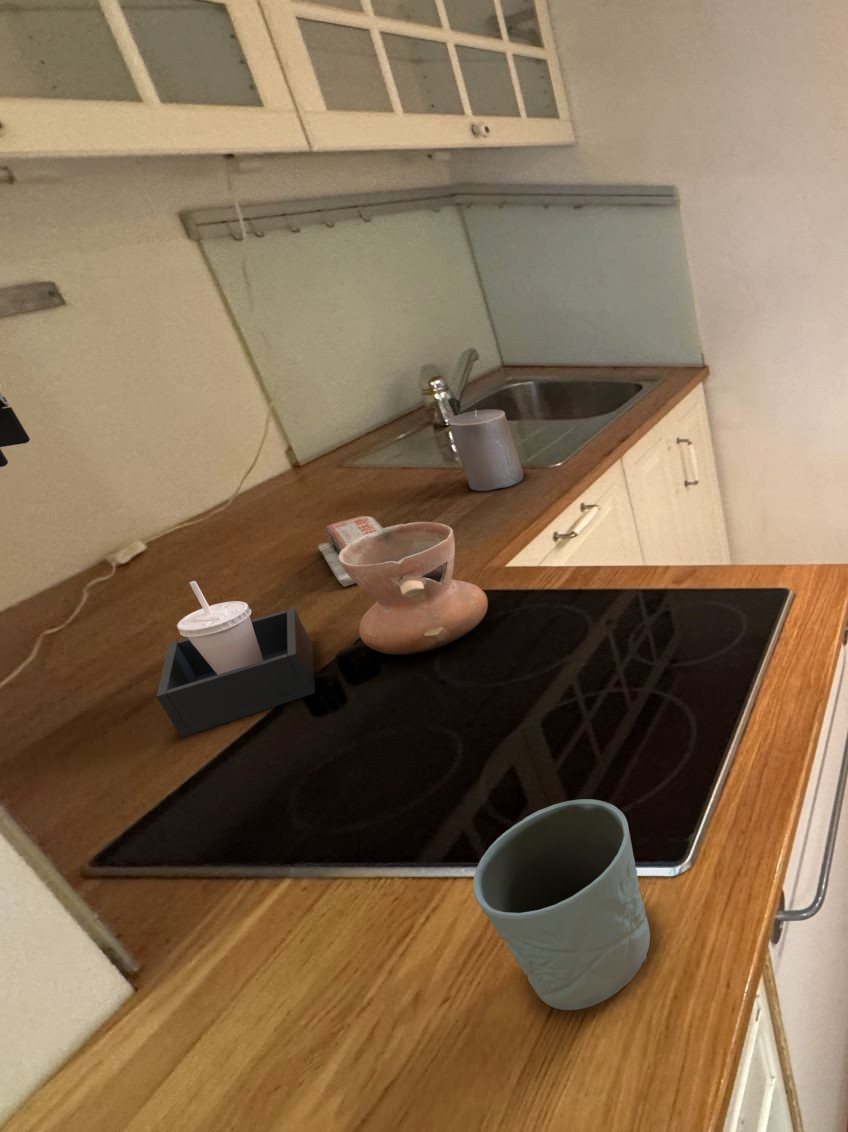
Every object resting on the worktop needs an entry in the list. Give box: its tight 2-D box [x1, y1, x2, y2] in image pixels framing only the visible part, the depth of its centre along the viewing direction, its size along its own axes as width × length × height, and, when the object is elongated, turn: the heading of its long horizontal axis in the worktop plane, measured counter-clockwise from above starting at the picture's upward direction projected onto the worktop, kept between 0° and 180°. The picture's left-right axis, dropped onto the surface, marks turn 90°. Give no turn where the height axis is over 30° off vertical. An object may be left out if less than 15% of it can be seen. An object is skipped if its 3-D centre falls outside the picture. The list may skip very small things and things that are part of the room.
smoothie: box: [176, 580, 263, 675], centre depth 91 cm, size 6×6×14 cm
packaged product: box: [317, 515, 388, 588], centre depth 123 cm, size 18×5×10 cm
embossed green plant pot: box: [472, 798, 651, 1011], centre depth 58 cm, size 10×10×12 cm
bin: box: [156, 607, 316, 738], centre depth 93 cm, size 12×14×6 cm
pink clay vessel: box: [339, 521, 489, 656], centre depth 101 cm, size 18×14×14 cm
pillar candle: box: [447, 408, 525, 492], centre depth 150 cm, size 10×10×15 cm
